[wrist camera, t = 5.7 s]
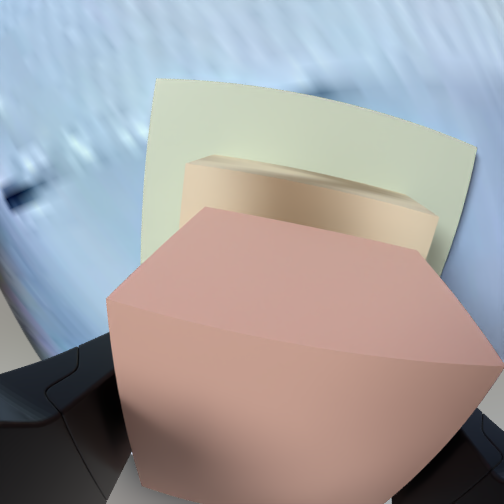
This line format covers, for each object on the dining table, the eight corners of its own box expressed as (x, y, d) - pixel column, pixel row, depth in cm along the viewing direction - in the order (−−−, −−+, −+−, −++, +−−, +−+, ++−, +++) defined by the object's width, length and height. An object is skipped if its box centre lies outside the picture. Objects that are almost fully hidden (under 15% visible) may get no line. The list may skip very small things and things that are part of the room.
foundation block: (405, 194, 12) (439, 217, 9) (352, 350, 15) (361, 400, 12) (214, 154, 12) (185, 163, 9) (195, 320, 15) (172, 365, 12)
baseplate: (470, 146, 11) (477, 147, 11) (380, 387, 16) (382, 394, 16) (161, 80, 12) (156, 78, 11) (146, 343, 17) (142, 349, 17)
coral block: (416, 250, 8) (505, 366, 3) (352, 399, 10) (363, 519, 6) (204, 206, 8) (106, 298, 4) (190, 370, 11) (142, 486, 6)
